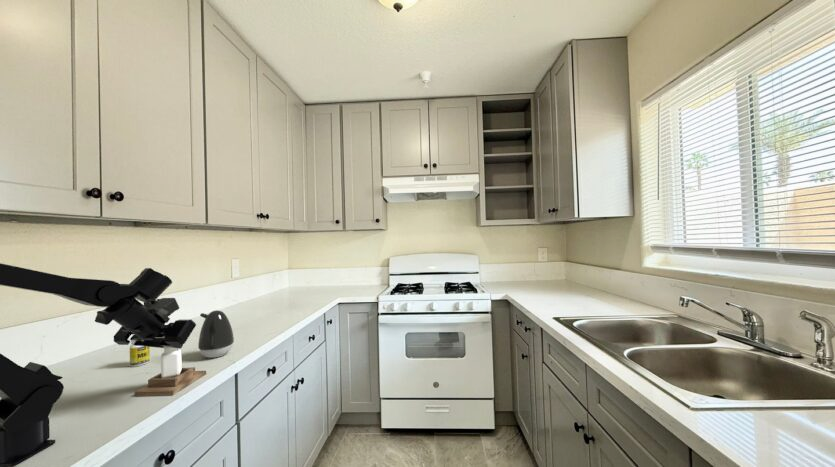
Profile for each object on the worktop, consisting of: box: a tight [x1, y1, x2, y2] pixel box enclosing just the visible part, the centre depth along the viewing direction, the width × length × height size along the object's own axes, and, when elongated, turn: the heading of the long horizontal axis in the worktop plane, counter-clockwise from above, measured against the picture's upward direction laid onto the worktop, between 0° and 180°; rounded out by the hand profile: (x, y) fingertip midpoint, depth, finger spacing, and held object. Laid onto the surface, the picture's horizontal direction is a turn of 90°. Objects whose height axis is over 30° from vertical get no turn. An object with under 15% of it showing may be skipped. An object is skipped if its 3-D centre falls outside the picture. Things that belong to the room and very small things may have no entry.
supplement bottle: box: [129, 340, 151, 368], centre depth 100 cm, size 5×5×8 cm
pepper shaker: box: [160, 346, 183, 378], centre depth 85 cm, size 4×4×10 cm
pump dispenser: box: [198, 309, 235, 359], centre depth 106 cm, size 10×10×15 cm
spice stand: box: [134, 367, 207, 397], centre depth 85 cm, size 12×10×3 cm
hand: (175, 346), depth 86 cm, fingers closed on pepper shaker, 3 cm apart
